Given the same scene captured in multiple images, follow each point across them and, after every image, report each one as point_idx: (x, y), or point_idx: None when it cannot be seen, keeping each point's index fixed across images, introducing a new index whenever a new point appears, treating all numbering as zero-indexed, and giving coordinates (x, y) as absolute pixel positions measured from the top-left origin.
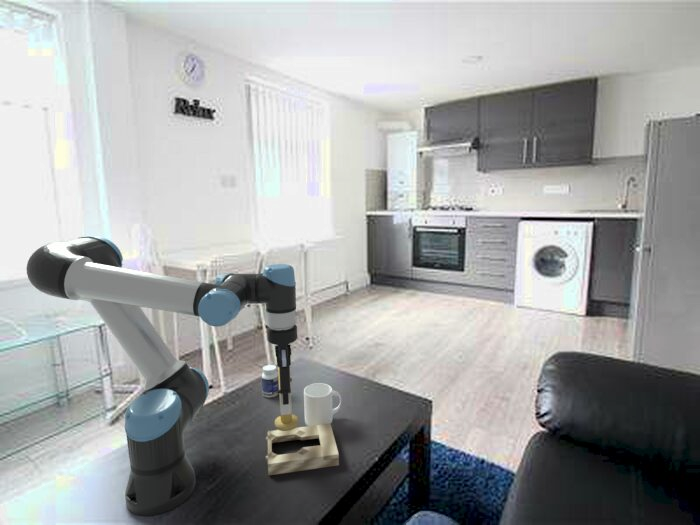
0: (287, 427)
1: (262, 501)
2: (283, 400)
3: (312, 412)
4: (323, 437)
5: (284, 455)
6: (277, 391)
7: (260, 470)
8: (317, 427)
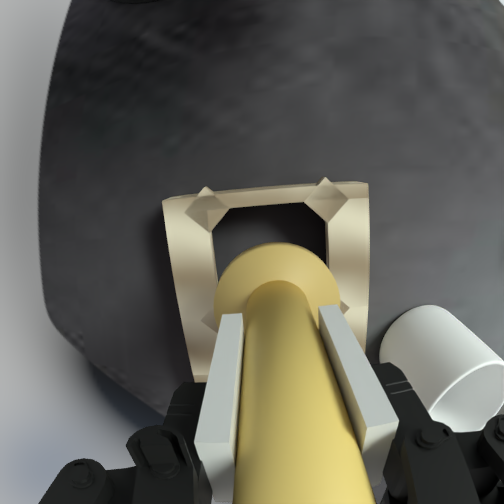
0: (214, 314)
1: (81, 193)
2: (168, 412)
3: (408, 361)
4: None
5: (204, 257)
6: (142, 443)
7: (200, 167)
8: None
